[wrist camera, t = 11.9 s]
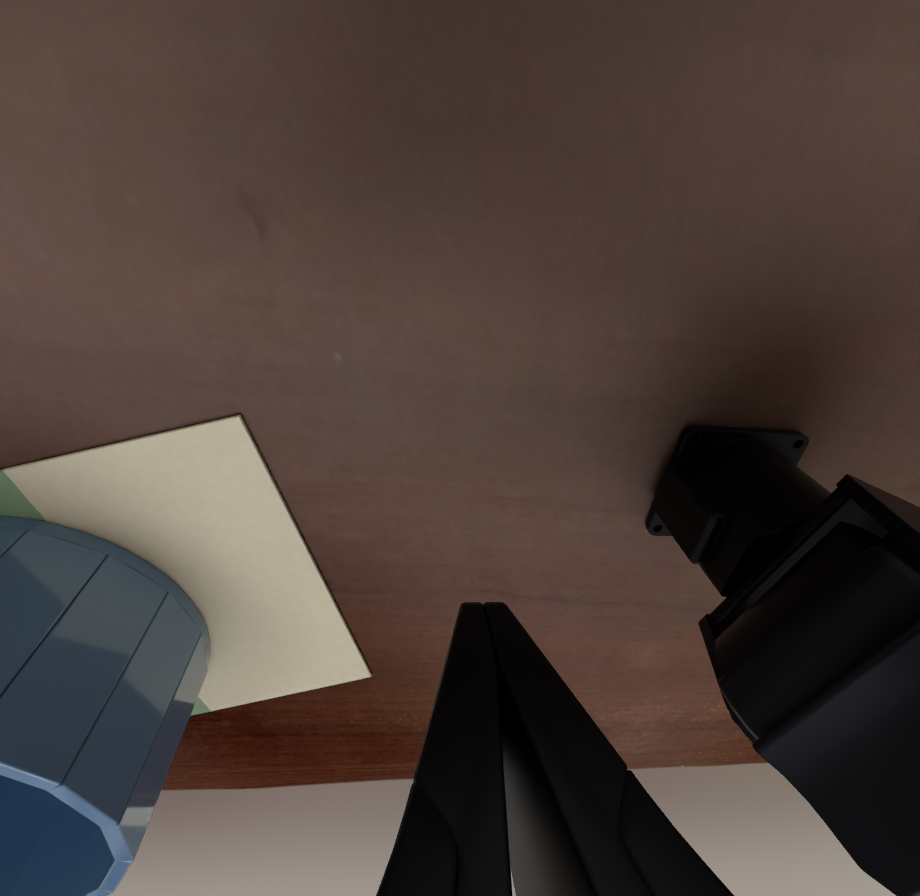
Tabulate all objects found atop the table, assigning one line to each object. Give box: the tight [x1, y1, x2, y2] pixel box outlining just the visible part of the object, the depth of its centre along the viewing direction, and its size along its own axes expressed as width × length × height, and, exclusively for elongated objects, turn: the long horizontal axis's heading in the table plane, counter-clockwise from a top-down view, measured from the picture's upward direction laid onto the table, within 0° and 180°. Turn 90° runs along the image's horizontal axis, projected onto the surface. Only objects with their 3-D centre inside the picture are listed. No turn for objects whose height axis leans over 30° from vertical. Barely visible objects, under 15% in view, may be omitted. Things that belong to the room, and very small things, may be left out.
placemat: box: [0, 415, 371, 716], centre depth 25 cm, size 20×19×1 cm
